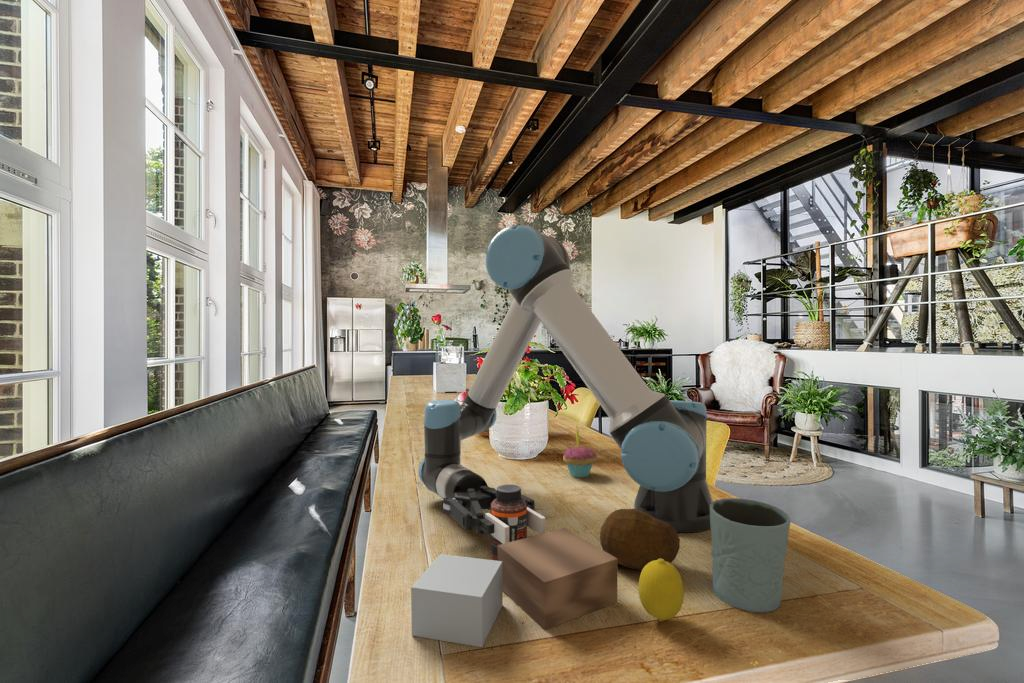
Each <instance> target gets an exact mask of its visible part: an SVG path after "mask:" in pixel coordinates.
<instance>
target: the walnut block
mask: <svg viewBox="0 0 1024 683" xmlns="http://www.w3.org/2000/svg"><path fill="white" fill-rule="evenodd" d="M497 550H498V561H502V583H503V593H505V595H506V596H508V597H509V598H510V599H511V600H512V601H513V602H514V603H515V604H516V605H517V606H518V607H519V608H520V609H521V610H523V612H525V613H526V614H527V616H529V617H530V618H531V619H532V620H533V621H534V622H535V623H536V624H538V625H539V627H541V629H543V630H544V631H546V630H548V629H551V628H553V627H556V626H559V625H561V624H564V623H566V622H569V621H572V620H574V619H577V618H580V617H582V616H586V615H588V614H590V613H593V612H595V611H597V610H601V609H603V608H605V607H608V606H610V605H613V604H616V603H618V565H619V563H618V559H617V558H616V557H614V556H612V555H610V554H609V553H607V552H605V551H604V550H603V549H602V548H600V547H598V546H597V545H595V544H593V543H592V542H590V541H588V540H587V539H584V538H583V537H582V536H580V535H578V534H576V533H574V532H573V531H571V530H569V529H568V528H566V527H562V528H558V529H554V530H550V531H546V533H542V534H538V533H537V534H535V535H532V536H527V538H523V539H519V540H516V541H512V542H508V543H504V544H501V545H497Z"/></svg>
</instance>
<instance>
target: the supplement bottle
mask: <svg viewBox="0 0 1024 683" xmlns="http://www.w3.org/2000/svg"><path fill="white" fill-rule="evenodd" d="M496 491H497V494H496V496H497V498H496V499H495V500H493V502H492V503H491V511H490V514H492V515H493V516H495V517H496V518H498V519H499V520H500V521H502V522H503V523H505V524H506V525H508V526H509V542H512V541H516V540H519V539H523V538H527V537H528V526H527V504H526V502H525V501H524V500H523V499H522V498H521V494H522V487H520V486H519V485H517V484H512V483H511V484H502V485H501V484H500V485H499V486H497V487H496ZM501 544H503V543H501V542H500V541H499V540H497V539H496V538H495V537H493V536H492V535H491V534H490V556H491V558H492V560H495V561H498V550H497V545H501Z"/></svg>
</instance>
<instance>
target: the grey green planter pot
mask: <svg viewBox="0 0 1024 683" xmlns="http://www.w3.org/2000/svg"><path fill="white" fill-rule="evenodd" d="M710 527H711V528H710V532H711V556H712V560H711V561H712V567H711V568H712V571H711V573H712V579H711V580H712V590H713V593H714V594H715V596H716V597H717V598H718V599H719V600H720V601H722V602H724V603H725V604H727V605H729V606H731V607H734V608H735V609H739V610H741V611H747V612H751V613H752V612H753V613H768V612H770V613H771V612H773V611H775V610H777V609H778V608H779V607H780V605H781V602H782V601H781V600H782V594H783V584H784V583H783V582H784V581H783V575H784V569H785V556H786V555H787V551H788V550H787V549H788V541H789V534H790V529H791V528H790V527H791V518H790V515H789V514H787V513H786V512H785V511H784V510H782V509H780V508H779V507H777V506H774V505H773V504H769V503H766V502H763V501H759V500H754V499H748V498H738V497H737V498H735V497H734V498H733V497H732V498H731V497H729V498H720V499H716V500H713V502H712V503H711V504H710Z"/></svg>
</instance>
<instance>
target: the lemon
mask: <svg viewBox="0 0 1024 683" xmlns="http://www.w3.org/2000/svg"><path fill="white" fill-rule="evenodd" d="M637 586H638V588H637V589H638V596H639V597H638V598H639V601H640V603H641V606H642V607H643V609H644V610H645V612H646V613H647V614H649V615H650V616H651V617H653V618H655V619H657V621H658V622H661V623H662V622H664V621H665V620H667V621H668V620H670V619H672V618H674V617H676V616H677V615H678V614H679V612H680V611H681V609H682V606H683V603H684V596H685V591H684V590H685V589H684V583H683V580H682V577H681V574H680V573H679V570H678V569H677V568H676V567H675V566H674V565H673V564H672V563H669V562H666V561H664V559H661V558H660V559H658V560H654V561H651V562H649V563H648V564H647V565H645V567H644V568H643V570H641V572H640V576H639V580H638V584H637Z"/></svg>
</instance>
